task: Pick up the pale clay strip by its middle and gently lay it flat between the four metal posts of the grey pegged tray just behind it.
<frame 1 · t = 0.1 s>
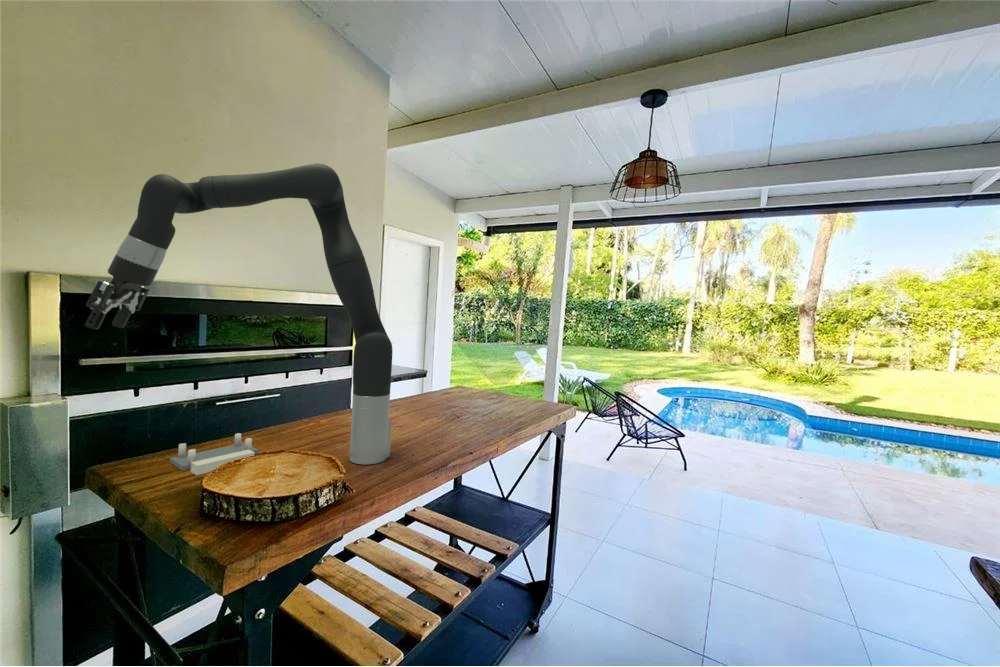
hand: (104, 327, 88), 31 cm above the table, fingers open, 8 cm apart
grey pegged tray: (216, 457, 99), on the table
clay strip: (223, 467, 94), on the table
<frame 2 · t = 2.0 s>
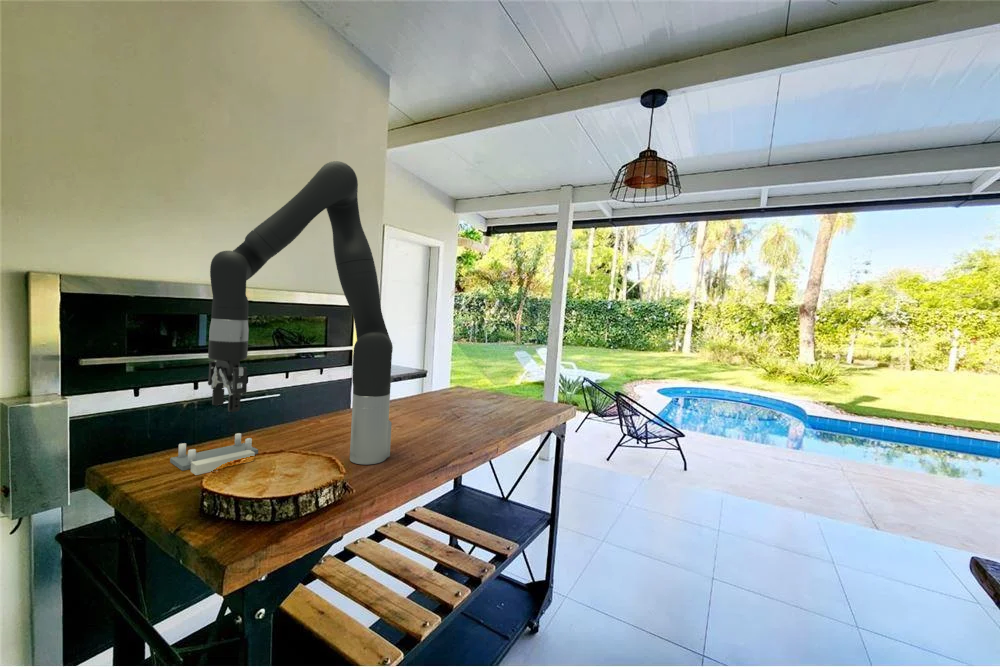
hand: (225, 408, 93), 14 cm above the table, fingers open, 8 cm apart
nothing on the table moved.
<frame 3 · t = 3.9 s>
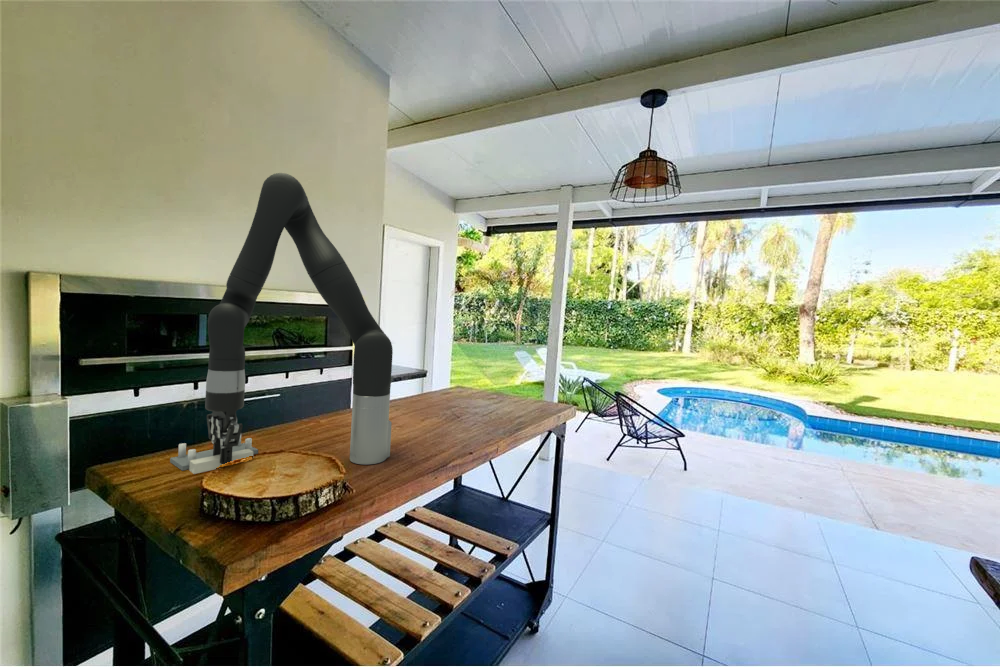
hand: (222, 460, 94), 1 cm above the table, fingers closed on clay strip, 3 cm apart
clay strip: (222, 466, 94), on the table, touching gripper
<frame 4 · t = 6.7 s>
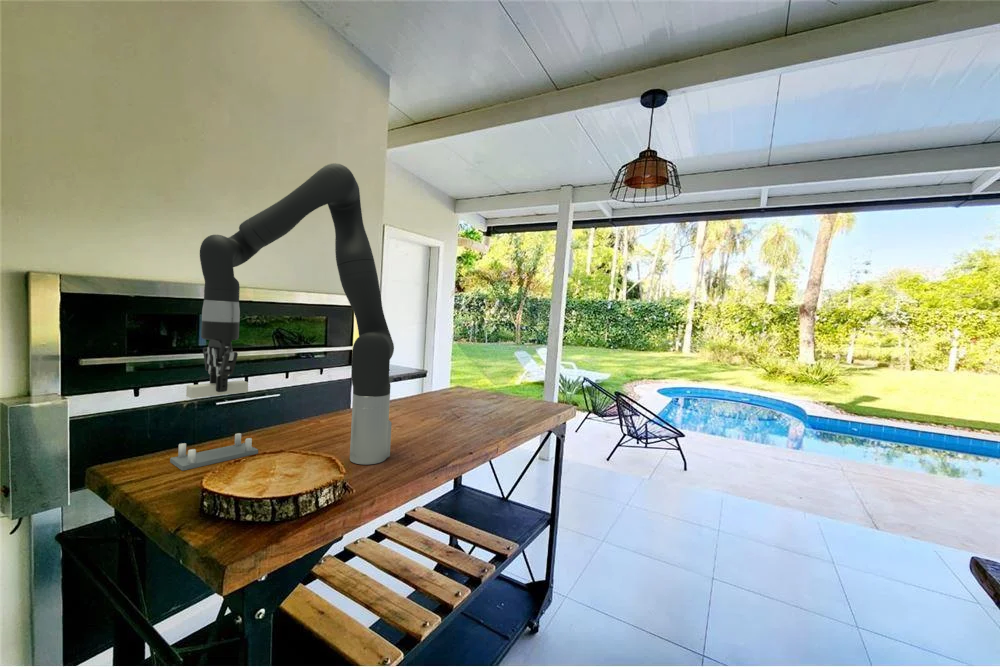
hand: (218, 390, 98), 17 cm above the table, fingers closed on clay strip, 3 cm apart
clay strip: (218, 393, 98), point 16 cm above the table, touching gripper
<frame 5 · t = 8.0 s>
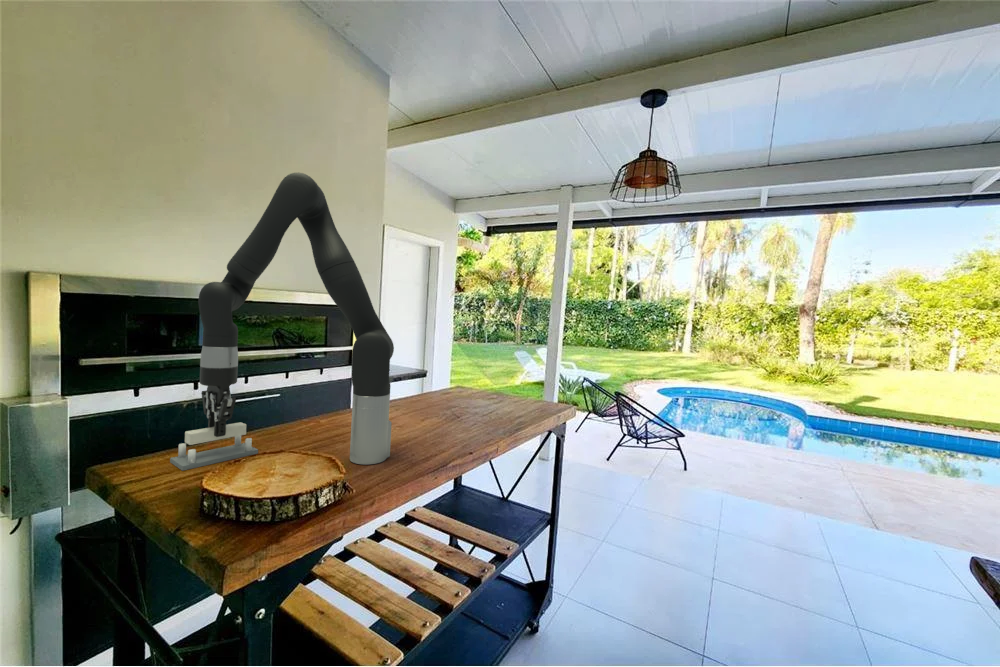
hand: (216, 434, 98), 6 cm above the table, fingers closed on clay strip, 3 cm apart
clay strip: (216, 437, 99), point 5 cm above the table, touching gripper
when the fingers open (3 cm above the table, at t = 9.2 s): clay strip stays where it is, resting on grey pegged tray.
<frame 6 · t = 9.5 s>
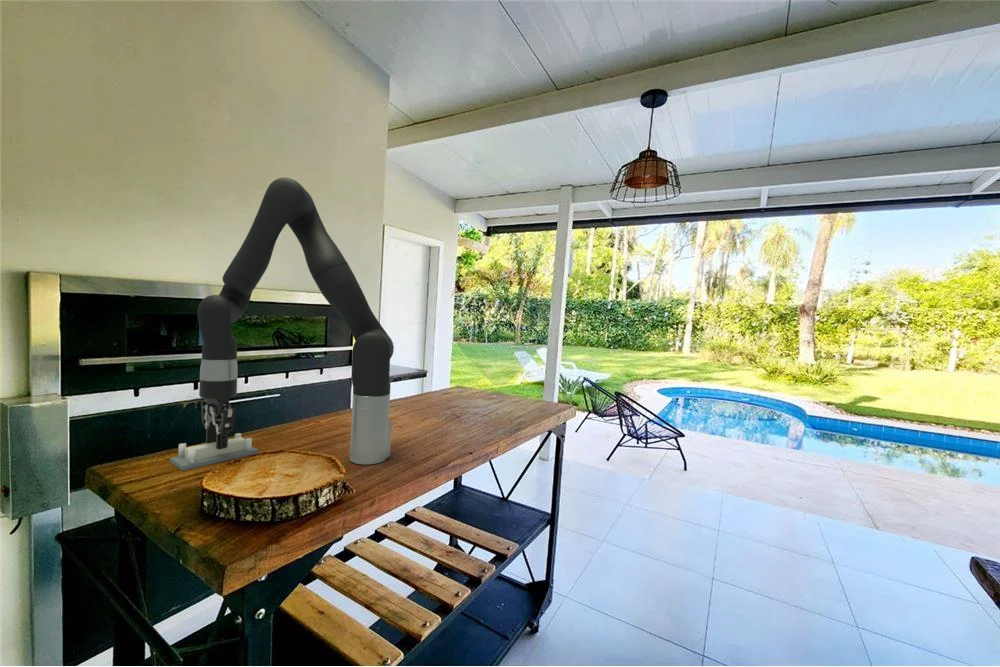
hand: (216, 445, 99), 3 cm above the table, fingers open, 5 cm apart
clay strip: (216, 453, 99), point 1 cm above the table, touching grey pegged tray
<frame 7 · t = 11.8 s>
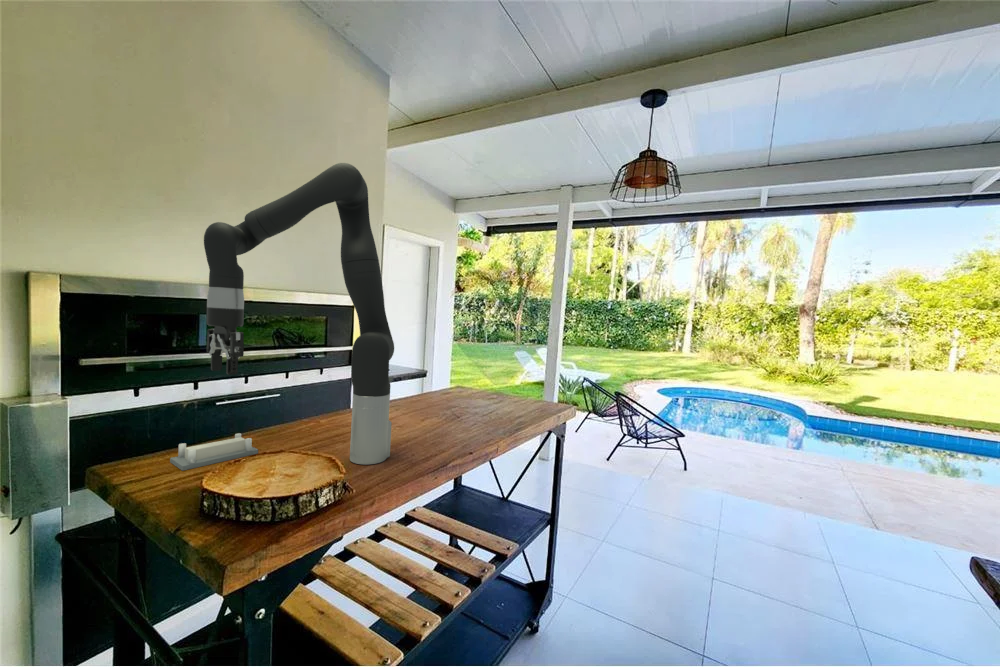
hand: (223, 372, 99), 21 cm above the table, fingers open, 8 cm apart
nothing on the table moved.
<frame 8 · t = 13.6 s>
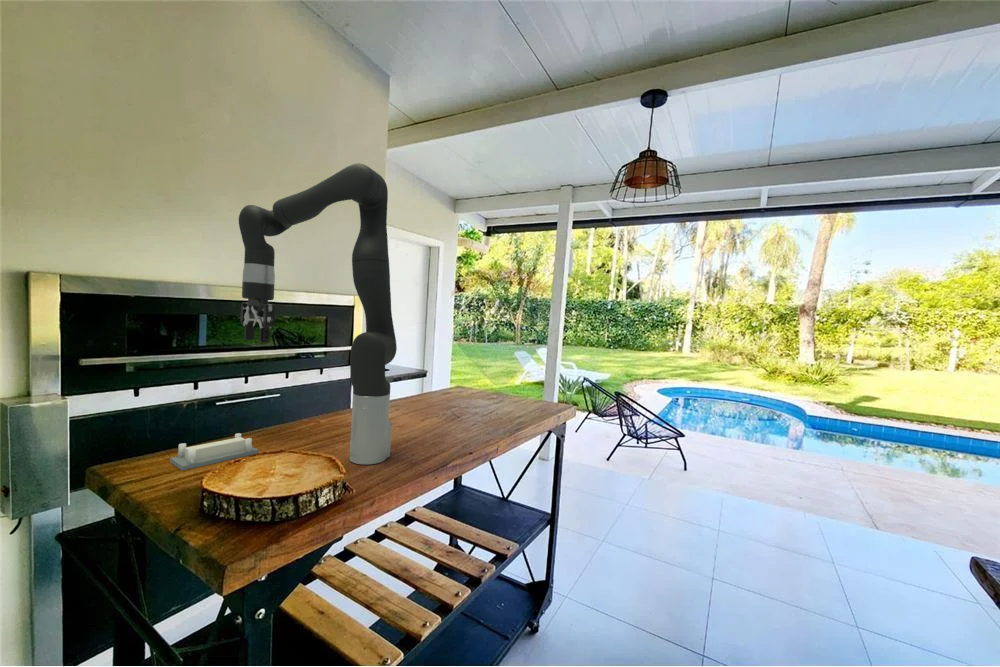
hand: (256, 341, 110), 28 cm above the table, fingers open, 8 cm apart
nothing on the table moved.
at the end: clay strip 0.1 cm off-centre on the grey pegged tray, point 1.0 cm above the grey pegged tray's base; clay strip tilted 0°; the gripper is holding nothing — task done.
